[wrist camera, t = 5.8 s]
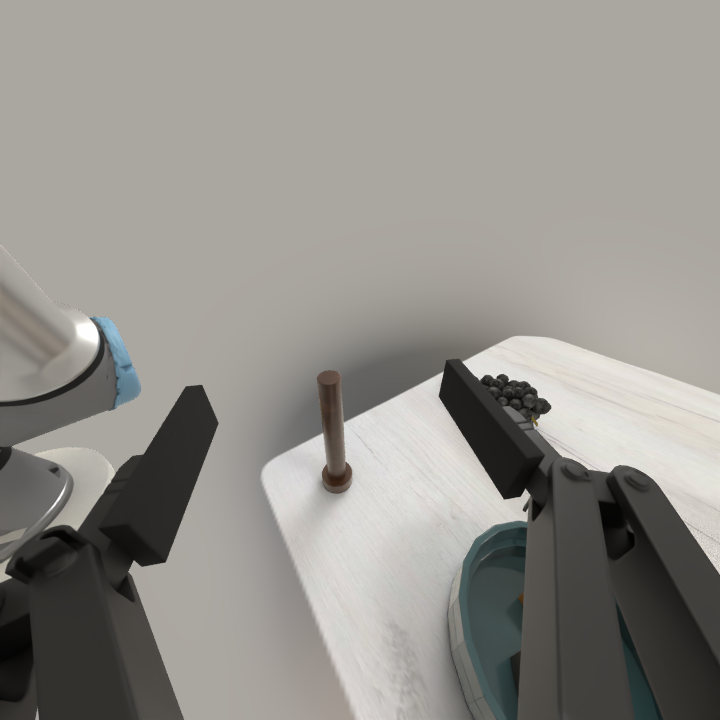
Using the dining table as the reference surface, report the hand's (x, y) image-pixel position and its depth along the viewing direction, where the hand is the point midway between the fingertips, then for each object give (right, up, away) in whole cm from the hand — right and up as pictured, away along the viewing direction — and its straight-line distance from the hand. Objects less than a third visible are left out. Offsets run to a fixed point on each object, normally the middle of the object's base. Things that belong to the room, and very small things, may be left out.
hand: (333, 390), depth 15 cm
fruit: (+25, -8, +32) cm, 41 cm away
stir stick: (-2, -15, +21) cm, 26 cm away
